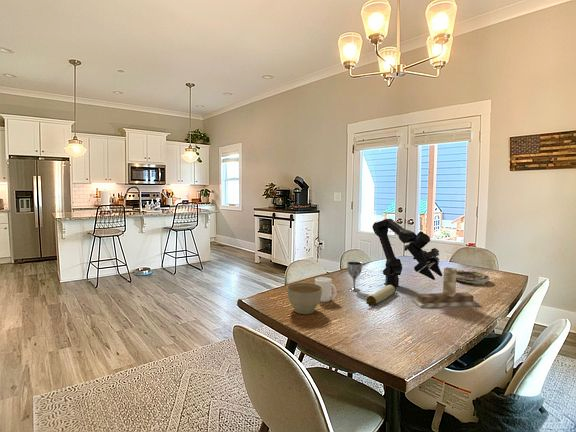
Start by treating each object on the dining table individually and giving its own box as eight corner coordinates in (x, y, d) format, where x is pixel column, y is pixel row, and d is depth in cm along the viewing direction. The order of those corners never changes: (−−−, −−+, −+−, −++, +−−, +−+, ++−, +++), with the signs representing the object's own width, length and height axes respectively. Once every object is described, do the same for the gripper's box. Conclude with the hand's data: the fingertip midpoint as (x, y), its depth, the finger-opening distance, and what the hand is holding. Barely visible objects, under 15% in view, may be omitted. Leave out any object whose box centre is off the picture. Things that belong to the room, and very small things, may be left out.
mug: (340, 300, 168) (341, 280, 167) (331, 305, 162) (331, 284, 161) (321, 295, 176) (321, 276, 175) (311, 299, 170) (311, 279, 169)
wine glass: (352, 292, 181) (353, 265, 179) (343, 288, 188) (344, 262, 186) (364, 290, 184) (365, 263, 183) (355, 287, 191) (355, 261, 190)
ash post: (442, 294, 165) (444, 268, 164) (446, 292, 168) (447, 267, 167) (452, 296, 162) (453, 270, 161) (455, 294, 165) (456, 268, 164)
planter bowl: (311, 320, 144) (312, 295, 143) (280, 312, 152) (280, 289, 152) (327, 308, 158) (328, 285, 157) (298, 302, 166) (298, 280, 165)
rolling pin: (372, 309, 157) (372, 299, 157) (361, 306, 161) (361, 296, 160) (399, 293, 182) (399, 283, 181) (389, 290, 185) (389, 282, 185)
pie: (482, 276, 217) (483, 268, 216) (505, 289, 190) (506, 281, 189) (437, 275, 220) (437, 267, 219) (453, 288, 193) (453, 279, 192)
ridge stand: (420, 307, 159) (420, 298, 159) (411, 301, 168) (411, 292, 168) (479, 305, 162) (480, 296, 162) (467, 299, 171) (468, 291, 171)
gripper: (421, 245, 164) (443, 272, 157) (436, 241, 177) (457, 265, 171) (405, 258, 170) (426, 285, 164) (420, 253, 183) (440, 277, 177)
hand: (438, 277), depth 168 cm, fingers open, 9 cm apart
